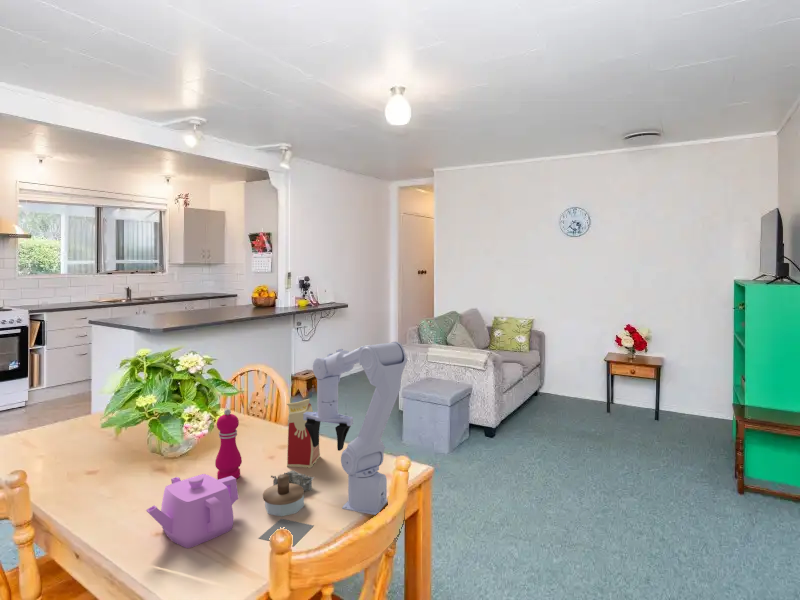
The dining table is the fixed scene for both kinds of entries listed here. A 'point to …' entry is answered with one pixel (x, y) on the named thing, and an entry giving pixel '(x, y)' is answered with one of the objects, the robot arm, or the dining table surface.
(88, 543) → the dining table surface
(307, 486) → the egg carton
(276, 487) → the lid
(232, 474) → the pepper mill
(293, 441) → the milk carton
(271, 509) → the bowl
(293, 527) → the mat
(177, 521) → the teakettle
